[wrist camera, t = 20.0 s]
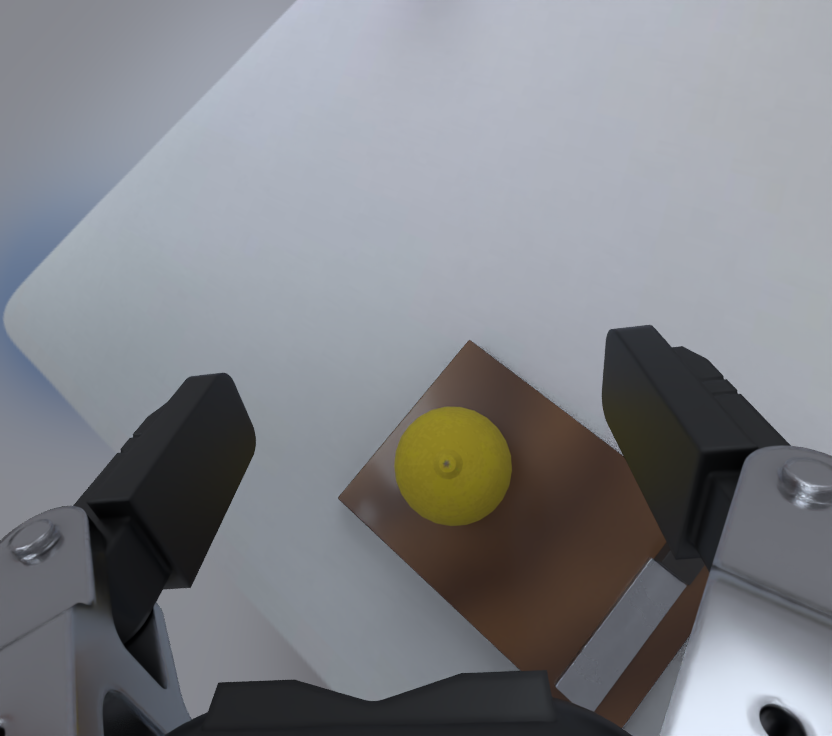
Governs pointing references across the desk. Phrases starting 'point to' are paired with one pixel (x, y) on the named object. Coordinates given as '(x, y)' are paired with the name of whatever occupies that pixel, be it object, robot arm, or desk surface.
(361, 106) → the desk surface
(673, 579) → the knife
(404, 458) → the lemon
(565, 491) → the cutting board
